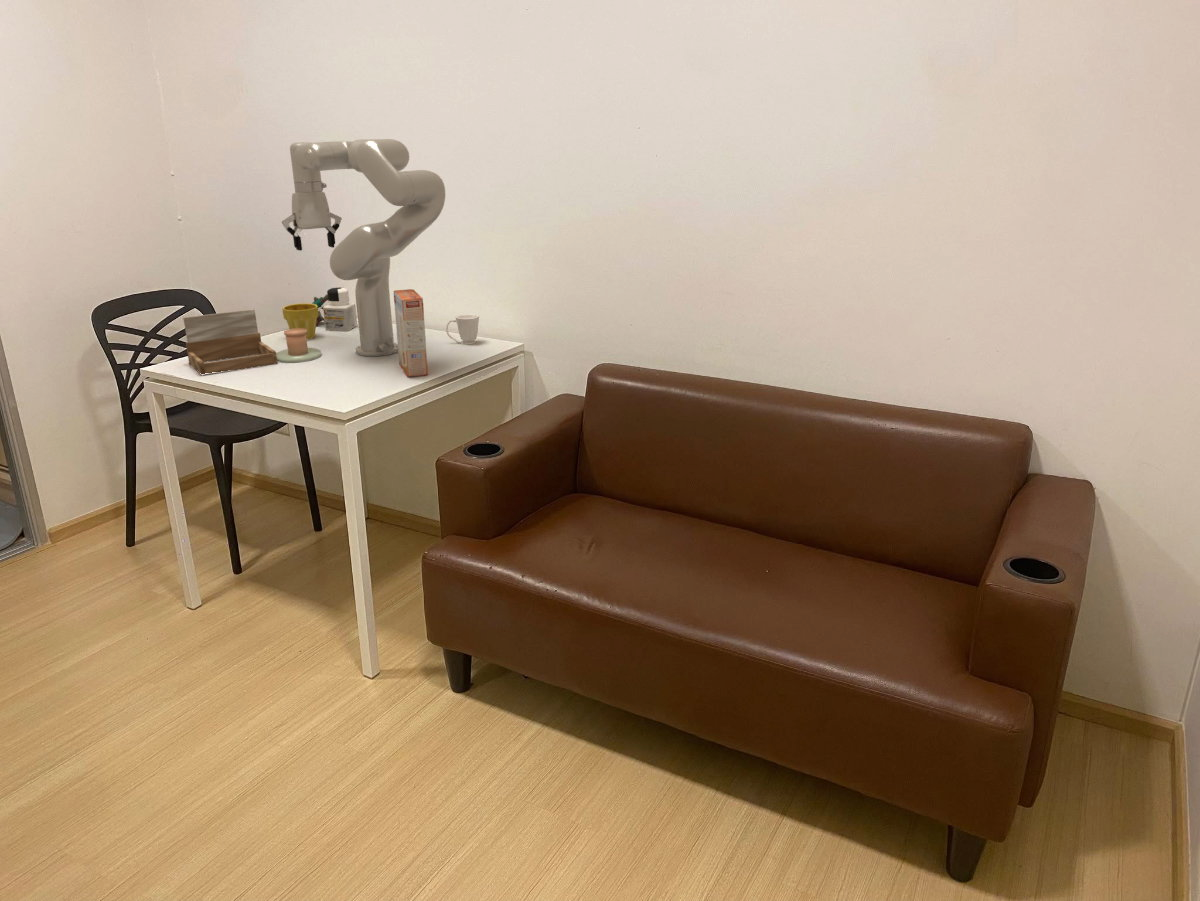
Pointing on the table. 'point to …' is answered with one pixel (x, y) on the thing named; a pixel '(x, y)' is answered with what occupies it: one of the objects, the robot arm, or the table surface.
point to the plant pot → (302, 317)
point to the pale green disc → (311, 355)
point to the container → (339, 311)
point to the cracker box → (411, 332)
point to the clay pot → (296, 341)
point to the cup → (466, 328)
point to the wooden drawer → (226, 342)
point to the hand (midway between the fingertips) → (315, 248)
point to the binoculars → (319, 303)
